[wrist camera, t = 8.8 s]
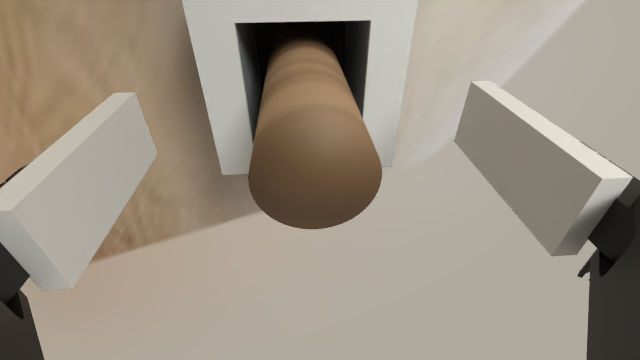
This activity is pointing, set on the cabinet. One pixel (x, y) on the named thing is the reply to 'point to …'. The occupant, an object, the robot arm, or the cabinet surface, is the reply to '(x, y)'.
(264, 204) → the walnut dowel
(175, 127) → the cabinet surface
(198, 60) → the socket block
